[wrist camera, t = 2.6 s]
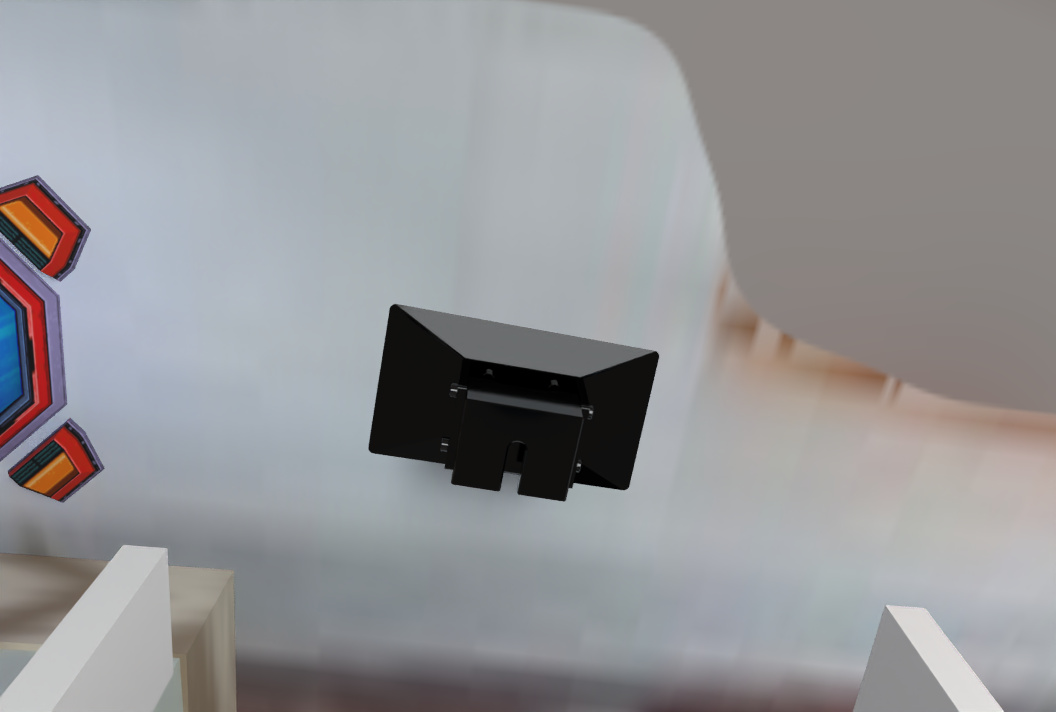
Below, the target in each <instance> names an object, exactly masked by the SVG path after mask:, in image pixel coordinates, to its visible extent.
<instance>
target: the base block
mask: <svg viewBox="0 0 1056 712" xmlns="http://www.w3.org/2000/svg"><path fill="white" fill-rule="evenodd" d="M109 562H110V561H103V560H90V559H76V558H63V557H49V556H36V555H23V554H9V553H0V649H10V650H30V651H38V650H39V649H40V647H41V646H42V645H43V644H44V642H45V641H46V640H47V639H48V637H49V636H50V635H51V634H52V632H53V631H54V630H55V629H56V628H57V626H58V625H59V624H60V623H61V621H62V620H63V619H64V618H65V616H66V615H67V614H68V613H69V611H70V610H71V609H72V608H73V607H74V605H75V604H76V603H77V602H78V600H79V599H80V598H81V597H82V595H83V594H84V593H85V592H86V590H87V589H88V588H89V587H90V585H91V584H92V583H93V582H94V581H95V579H96V578H97V577H98V576H99V574H100V573H101V572H102V571H103V569H104V568H105V567H106V566H107V564H108V563H109ZM168 571H169V591H170V611H171V632H172V652H173V658H180V671H181V685H182V699H183V712H237V711H236V659H235V606H234V570H224V569H211V568H197V567H184V566H170V565H168Z"/></svg>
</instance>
